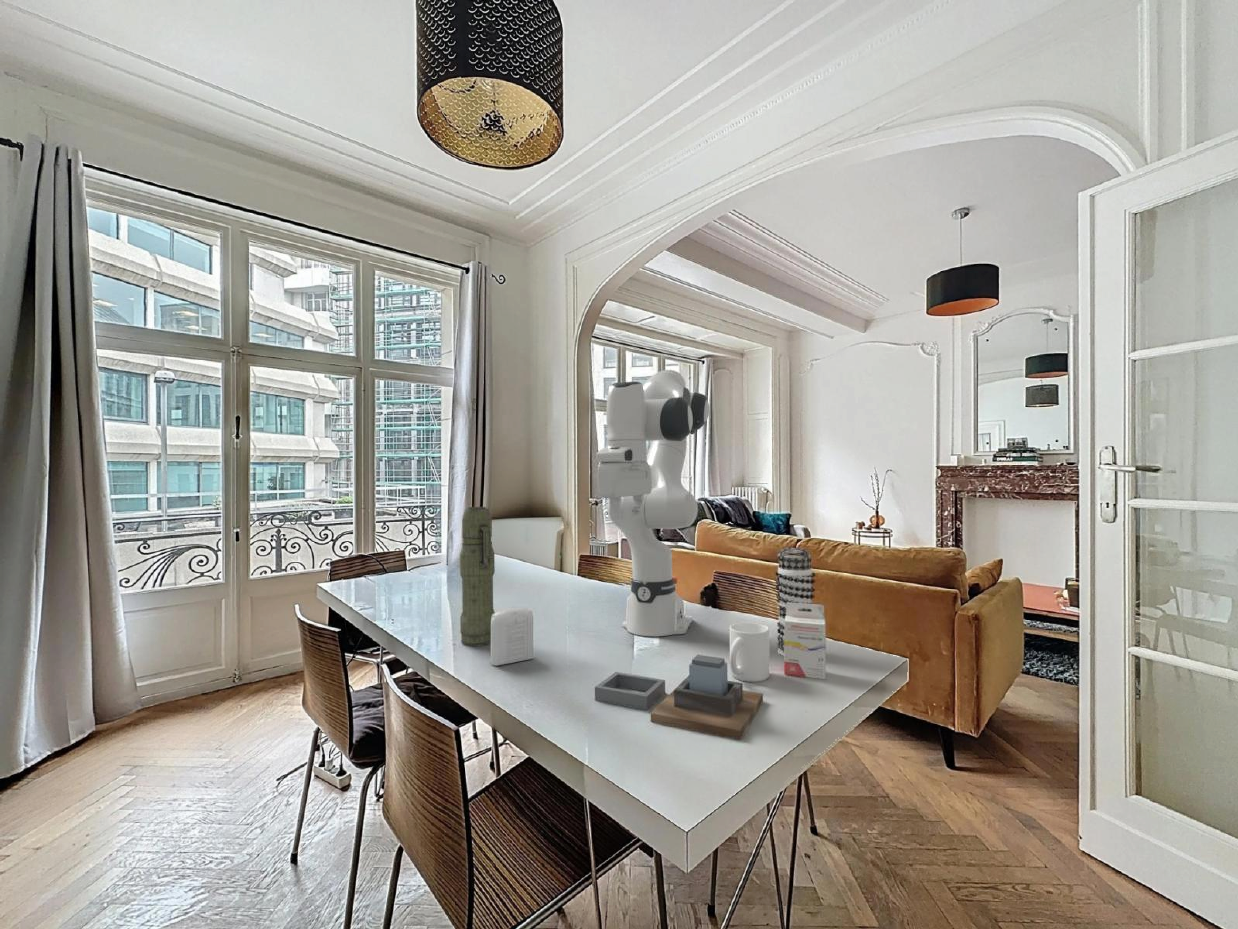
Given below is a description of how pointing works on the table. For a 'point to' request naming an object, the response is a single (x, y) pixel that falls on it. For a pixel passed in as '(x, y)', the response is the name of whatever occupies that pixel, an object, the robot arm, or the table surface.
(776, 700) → the table surface
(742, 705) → the dock
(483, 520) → the thermos
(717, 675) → the plug
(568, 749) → the table surface
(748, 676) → the mug
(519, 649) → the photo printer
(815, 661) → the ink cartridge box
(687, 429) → the robot arm
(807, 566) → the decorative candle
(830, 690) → the table surface
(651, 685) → the grey rectangular frame
